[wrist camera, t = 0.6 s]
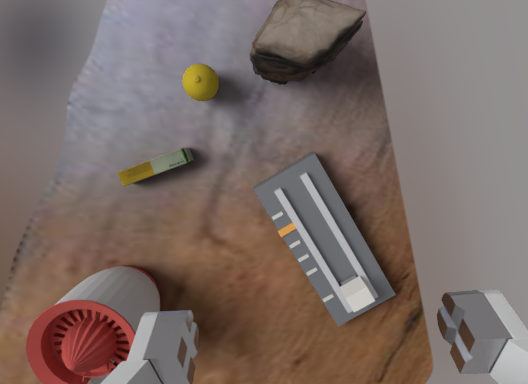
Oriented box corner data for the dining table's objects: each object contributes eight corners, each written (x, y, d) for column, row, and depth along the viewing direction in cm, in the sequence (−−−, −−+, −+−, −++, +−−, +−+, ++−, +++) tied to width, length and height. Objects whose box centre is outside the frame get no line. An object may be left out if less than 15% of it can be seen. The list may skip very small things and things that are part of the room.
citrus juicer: (99, 344, 65) (30, 438, 45) (78, 260, 62) (-6, 321, 42) (179, 333, 65) (145, 422, 45) (162, 249, 62) (118, 305, 42)
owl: (342, 44, 56) (390, -2, 36) (302, 111, 58) (325, 101, 38) (278, 1, 54) (290, -72, 35) (238, 70, 56) (229, 39, 36)
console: (389, 287, 64) (397, 297, 60) (333, 317, 65) (338, 330, 61) (311, 152, 59) (315, 153, 55) (252, 187, 60) (252, 191, 56)
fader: (365, 286, 60) (375, 301, 55) (345, 297, 61) (354, 312, 55) (357, 273, 60) (366, 286, 55) (337, 284, 60) (345, 298, 55)
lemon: (219, 67, 56) (213, 57, 48) (222, 101, 57) (217, 97, 49) (186, 69, 56) (175, 60, 48) (190, 104, 57) (179, 99, 49)
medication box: (189, 146, 58) (184, 146, 55) (195, 160, 59) (190, 162, 55) (125, 169, 59) (116, 172, 55) (132, 184, 59) (122, 187, 55)
